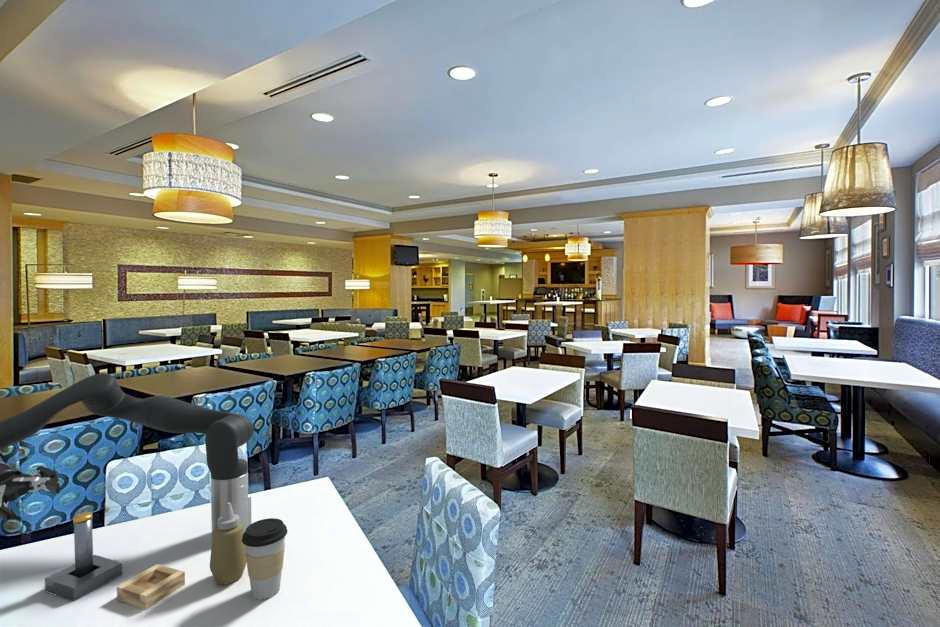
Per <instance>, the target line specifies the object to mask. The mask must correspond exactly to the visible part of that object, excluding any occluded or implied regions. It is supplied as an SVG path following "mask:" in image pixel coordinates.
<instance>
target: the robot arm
mask: <svg viewBox="0 0 940 627" xmlns="http://www.w3.org/2000/svg"><path fill="white" fill-rule="evenodd" d="M81 402H82V404H83V405H84V407H85V408H86V410H87V411H88V412H90V413H92V414H93V415H97V416H100V417H109V418H114V419H119V420H125V421H128V422H131V423H135V424H138V425H142V426H145V427H147V428H151V429H155V430H158V431H162V432H166V433H174V434H205V438H204V439H205V441H204V442H205V454H206V465H207V469H208V470H209V472H210V507H211V508H210V509H211V511H210V512H211V519H210V520H211V537H212V536H213V531H214V530H215V529H216V528H217V520H218V519H219V518H220V517H222V516H223V512H224V508H225V504H226V503H228V502H230V503H231V505H232V509H233V513H234V514H237V515H239V523H241V524H243V526H244V532H245V531H246V528H247V527H248V526H249V525H251V524H252V496H251V495H250V494H249V471H248V470H249V469H248V468H249V464H248V462H247V460H246V459H244V458H239V451H238V448H240V447H242V446H243V445H245V444H247V443H248V442H249V441H250V440H251V439H252V438H253V436H254V434H255V426H254V424H253V422H252V421H251V420H250V419H249V418H248V417H247V416H245V415H244V414H240V413H235V412H228V411H223V410H221V411H220V410H216V409H211V408H208V407H204V406H200V405H197V404H194V403H190V402H186V401H183V400H181V399H177V398H174V397H170V396H167V395H154V396H149V397H146V398H145V397H144V398H139V397H135V396H132V395H129V394H127V393H125V392H124V391H123V390H122V388H121V386H120V385H119V383H118V382H117V380H116V379H115V378H114V376H113V375H111V374H110V373H106V372H105V373H104V372H103V373H96V374H93V375H91V376H86V378H83V379H80V380H79V381H77V382H75V383H73V384H71V385H70V386H68V387H66V388H64V389H62V390H61V391H58V392H57V393H55V394H54V395H51V396H49V397H48V398H46V399H44V400H43V401H40V402H39V403H37V404H36V405H34V406H31V407H30V408H27V409H25V410H24V411H23V410H22V411H21V412H19V413H16V414H14V415H11V416H9V417H7V418H4V419H2V420H0V451H1V450H4V449H6V448H8V447H11V446H13V445H15V444H18V443H20V442H22V441H24V440H27V439H28V438H31V437H33V436H34V435H36V434H37V433H38V432H40V431H41V430H42V429H43V428H44V427H45V426H47V425H48V423H49V422H51V421H52V419H54V418H55V416H57V415H59V413H61V412H62V411H64V410H65V409H67V408H68V407H70V406H73V405H74V404H79V403H81ZM35 469H36V470H35V471H34V472H32V473H30V474H29V473H23V472H22V471H21V470H19V469H17V468H15V467H13V466H11V465H10V464H8V463H6V462H3V461H2V460H0V518H1V519H2V520H4V521H9V520H10V521H14V520H16V519H17V517H16V514H15V511H14V510H12V509H10V508H9V507H8V505H9V502H14V501H16V500H17V499H18V498H20V497H22V496H24V495H26V494H28V493H32V492H38V491H40V490H45V489H46V490H47V491H48V492H51V493H53V494H55V495H58V494H60V493H61V490H62V488H61V485H60V483H59V481H60V478H59V475H58V472H57V471H55V470H53V469H50V468H48V467H45V466H43V465H39V466H37V467H36V468H35Z"/></svg>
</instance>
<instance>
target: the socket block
mask: <svg viewBox="0 0 940 627" xmlns="http://www.w3.org/2000/svg"><path fill="white" fill-rule="evenodd" d="M93 570H94V571H92V572H90V573H88V574H86V575H84V576H83V577H81V578H79V577H75V563H74V564H71V565H70V566H67V567H66V568H63V569H61V570H59V571H57V572H55V573H54V574H51V575H49V576H46V577H45V578H44V586H45V587H44V591H45V592H46V591H48V592H47V593H49V592H50V593H49V594H51V593H53V594H52V595H54V594H56V595H55V596H57V595H58V597H60V598H63V599H65V600H69V601H71V602H75V601H77V600H79V599H81V598H83V597H84V596H86V595H89V594H90V593H92V592H93V591H96V590H98V589H99V588H101V587H102V586H105V585H107V584H108V583H110V582H112V581H114V580H115V579H118V578H119V577H121V576H123V562H122V561H121V562H120V561H118V560H114V559H110V558H107V557H104V556H100V555H97V554H93Z"/></svg>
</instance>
